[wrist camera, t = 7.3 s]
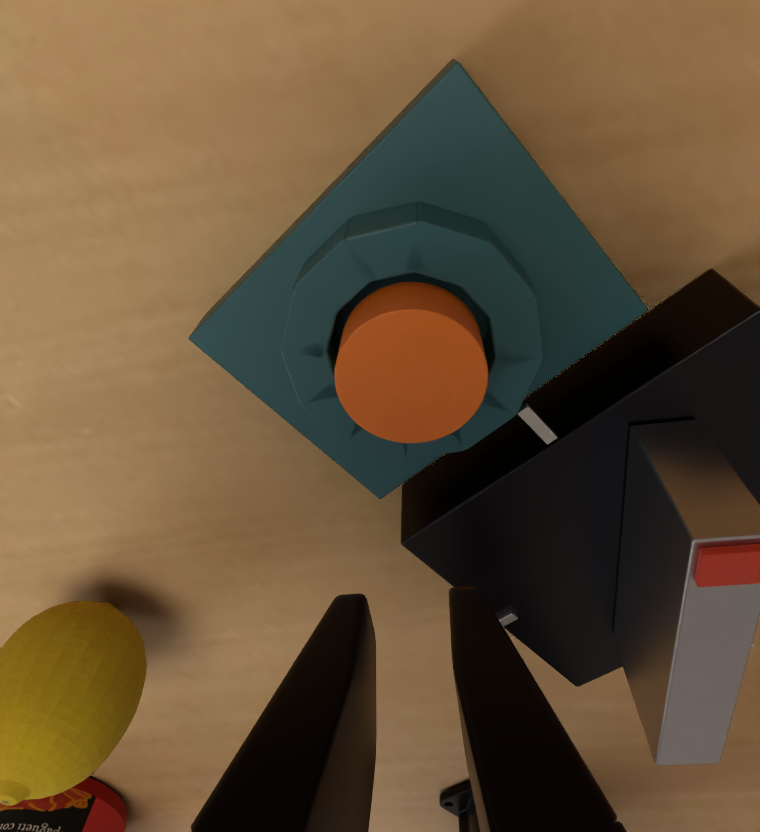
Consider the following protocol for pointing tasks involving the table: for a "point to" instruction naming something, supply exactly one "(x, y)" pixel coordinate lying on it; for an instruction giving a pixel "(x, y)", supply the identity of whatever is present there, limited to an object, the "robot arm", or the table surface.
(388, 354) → the button
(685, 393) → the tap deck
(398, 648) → the table surface
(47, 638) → the lemon
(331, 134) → the table surface
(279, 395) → the control block
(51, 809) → the canned food
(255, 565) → the table surface
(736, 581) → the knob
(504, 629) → the robot arm
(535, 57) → the table surface
